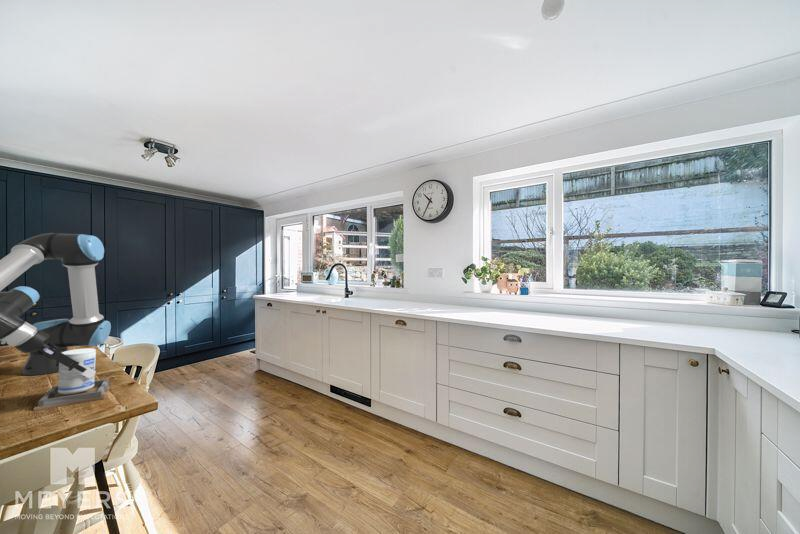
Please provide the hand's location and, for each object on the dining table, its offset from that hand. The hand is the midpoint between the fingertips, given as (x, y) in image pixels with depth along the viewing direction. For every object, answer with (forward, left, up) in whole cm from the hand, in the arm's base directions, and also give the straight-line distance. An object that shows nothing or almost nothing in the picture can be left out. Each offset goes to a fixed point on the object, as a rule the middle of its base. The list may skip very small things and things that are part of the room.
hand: (89, 372), depth 116 cm
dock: (+1, -3, -8) cm, 9 cm away
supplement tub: (+1, -3, -6) cm, 7 cm away
